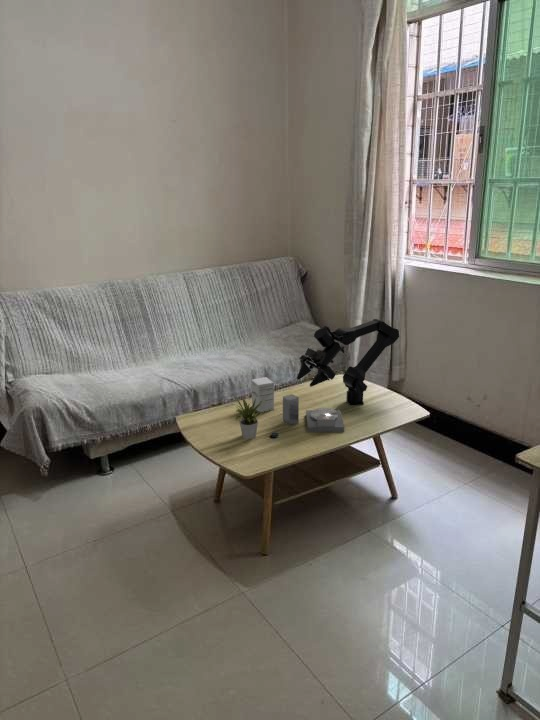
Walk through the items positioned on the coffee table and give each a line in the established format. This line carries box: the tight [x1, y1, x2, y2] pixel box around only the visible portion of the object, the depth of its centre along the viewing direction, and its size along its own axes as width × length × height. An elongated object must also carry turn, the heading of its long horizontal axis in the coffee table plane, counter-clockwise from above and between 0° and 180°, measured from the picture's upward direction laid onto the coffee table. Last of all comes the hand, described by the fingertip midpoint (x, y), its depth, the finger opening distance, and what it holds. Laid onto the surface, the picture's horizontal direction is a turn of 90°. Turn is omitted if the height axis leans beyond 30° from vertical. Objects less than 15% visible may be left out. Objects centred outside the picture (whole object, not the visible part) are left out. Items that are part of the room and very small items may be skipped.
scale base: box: [305, 409, 345, 433], centre depth 223 cm, size 14×16×5 cm
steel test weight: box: [282, 393, 300, 426], centre depth 223 cm, size 4×4×11 cm
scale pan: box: [311, 407, 338, 421], centre depth 225 cm, size 11×11×1 cm
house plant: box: [230, 396, 265, 440], centre depth 211 cm, size 14×14×16 cm
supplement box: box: [251, 376, 275, 413], centre depth 236 cm, size 7×7×13 cm
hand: (303, 382), depth 226 cm, fingers open, 9 cm apart
